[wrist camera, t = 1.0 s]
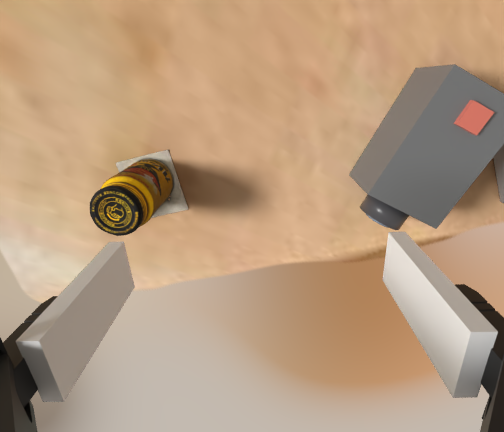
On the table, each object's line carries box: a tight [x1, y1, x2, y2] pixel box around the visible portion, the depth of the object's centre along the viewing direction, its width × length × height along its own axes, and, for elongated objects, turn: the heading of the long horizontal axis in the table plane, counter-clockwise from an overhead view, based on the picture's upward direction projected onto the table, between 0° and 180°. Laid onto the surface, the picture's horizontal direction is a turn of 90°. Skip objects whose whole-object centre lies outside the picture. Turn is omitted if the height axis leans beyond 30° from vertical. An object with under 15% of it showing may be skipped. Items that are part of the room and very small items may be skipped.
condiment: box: [90, 150, 188, 236], centre depth 37 cm, size 7×8×12 cm
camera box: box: [349, 64, 504, 230], centre depth 36 cm, size 17×9×9 cm, turn 154°
